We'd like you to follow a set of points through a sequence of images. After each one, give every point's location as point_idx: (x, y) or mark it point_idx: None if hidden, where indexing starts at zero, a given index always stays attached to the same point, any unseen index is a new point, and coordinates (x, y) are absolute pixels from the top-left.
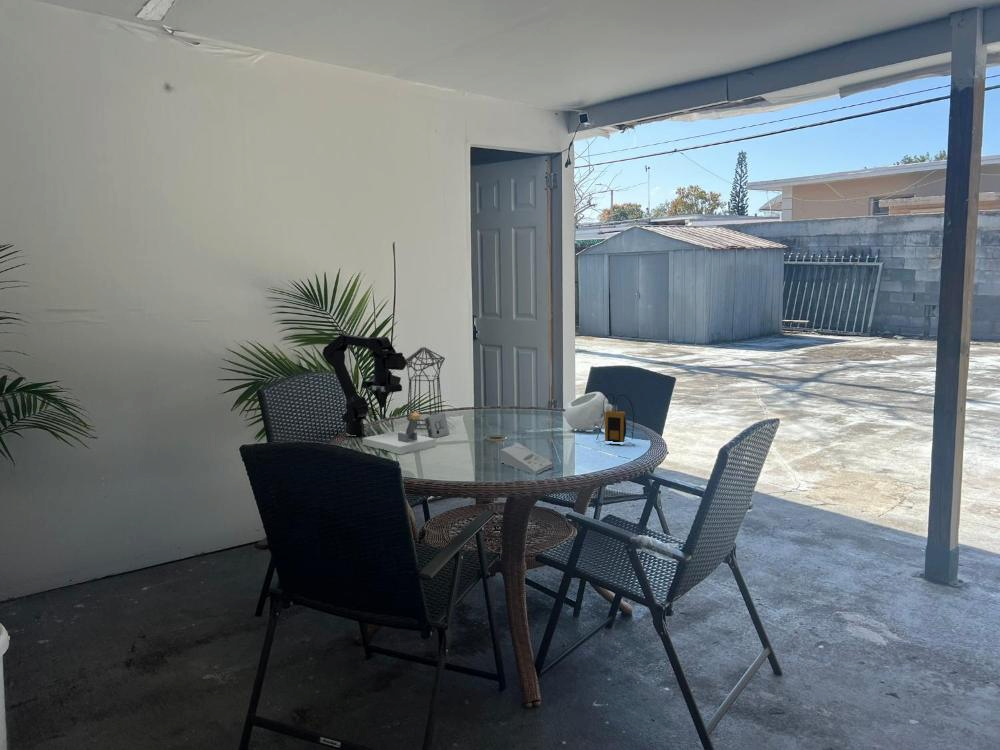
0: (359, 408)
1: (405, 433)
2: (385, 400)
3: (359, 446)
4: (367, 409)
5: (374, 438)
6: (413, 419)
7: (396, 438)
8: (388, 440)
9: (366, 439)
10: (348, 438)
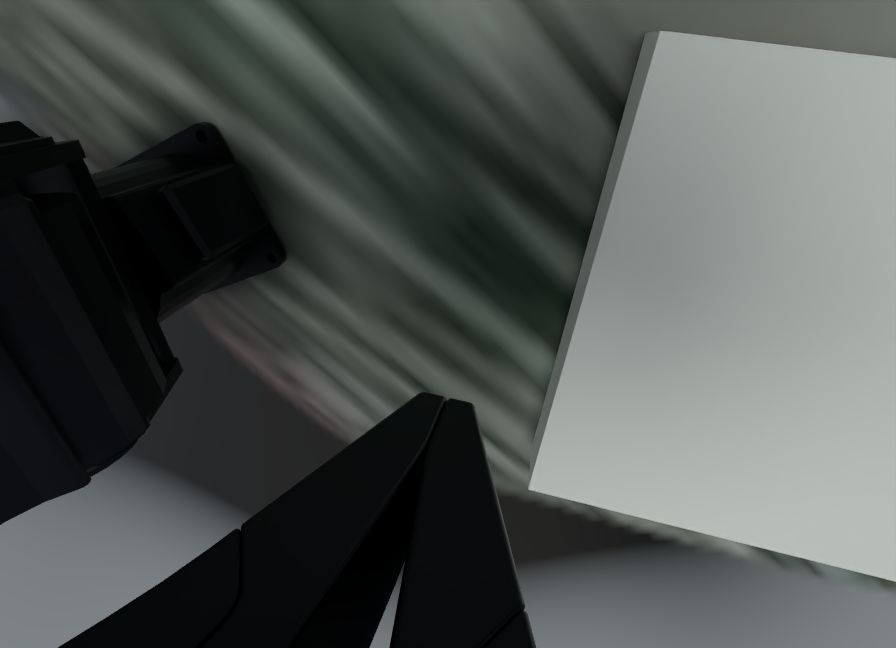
0: (65, 427)
1: (875, 128)
2: (513, 588)
3: (526, 465)
4: (21, 234)
5: (633, 471)
6: None
7: (875, 401)
8: (824, 488)
9: (579, 498)
10: (262, 319)
